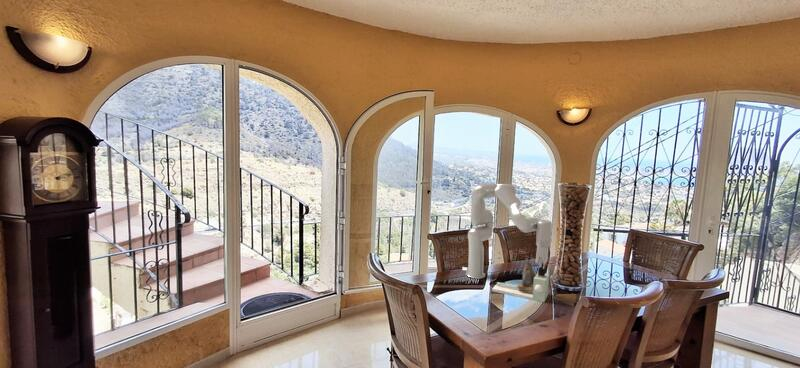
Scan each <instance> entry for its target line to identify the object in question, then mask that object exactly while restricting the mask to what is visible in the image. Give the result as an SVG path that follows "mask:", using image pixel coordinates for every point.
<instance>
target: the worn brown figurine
mask: <svg viewBox="0 0 800 368" xmlns="http://www.w3.org/2000/svg"><path fill="white" fill-rule="evenodd" d="M530 262H531V261H530V259H529V258H525V267H524V268H523V271H522V272H523V273H525V272H526V273H530V285H533V282H534V277H535V276H536V274H535V272H534V269H533V266H532V264H531V263H530ZM523 273H522V274H523Z"/></svg>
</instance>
